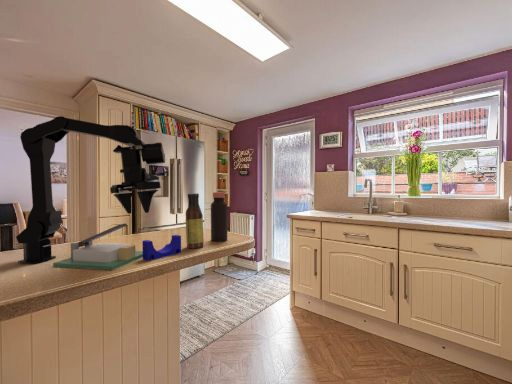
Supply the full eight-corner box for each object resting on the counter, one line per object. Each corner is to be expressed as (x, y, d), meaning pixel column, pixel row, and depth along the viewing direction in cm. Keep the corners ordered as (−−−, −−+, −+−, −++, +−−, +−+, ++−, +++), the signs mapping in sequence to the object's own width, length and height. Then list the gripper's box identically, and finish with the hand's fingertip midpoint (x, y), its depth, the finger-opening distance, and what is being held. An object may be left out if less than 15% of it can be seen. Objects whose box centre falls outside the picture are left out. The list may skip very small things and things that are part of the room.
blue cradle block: (173, 251, 89) (172, 234, 89) (181, 253, 86) (181, 235, 86) (140, 259, 79) (139, 240, 79) (148, 261, 76) (147, 241, 76)
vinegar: (230, 239, 107) (230, 192, 107) (220, 242, 101) (220, 192, 101) (218, 237, 111) (217, 192, 110) (207, 240, 105) (207, 192, 105)
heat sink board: (53, 266, 72) (52, 247, 71) (98, 252, 87) (98, 236, 87) (111, 270, 68) (111, 249, 68) (148, 254, 84) (147, 238, 83)
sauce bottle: (207, 246, 95) (206, 193, 95) (194, 249, 90) (194, 193, 90) (194, 244, 99) (194, 193, 98) (182, 247, 93) (181, 193, 93)
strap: (76, 248, 78) (75, 243, 78) (85, 245, 81) (83, 241, 81) (120, 229, 75) (119, 224, 75) (127, 227, 77) (126, 223, 78)
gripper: (171, 162, 85) (176, 208, 86) (137, 168, 94) (142, 210, 95) (141, 161, 75) (148, 213, 76) (106, 169, 85) (112, 215, 85)
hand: (138, 213), depth 83 cm, fingers open, 9 cm apart
